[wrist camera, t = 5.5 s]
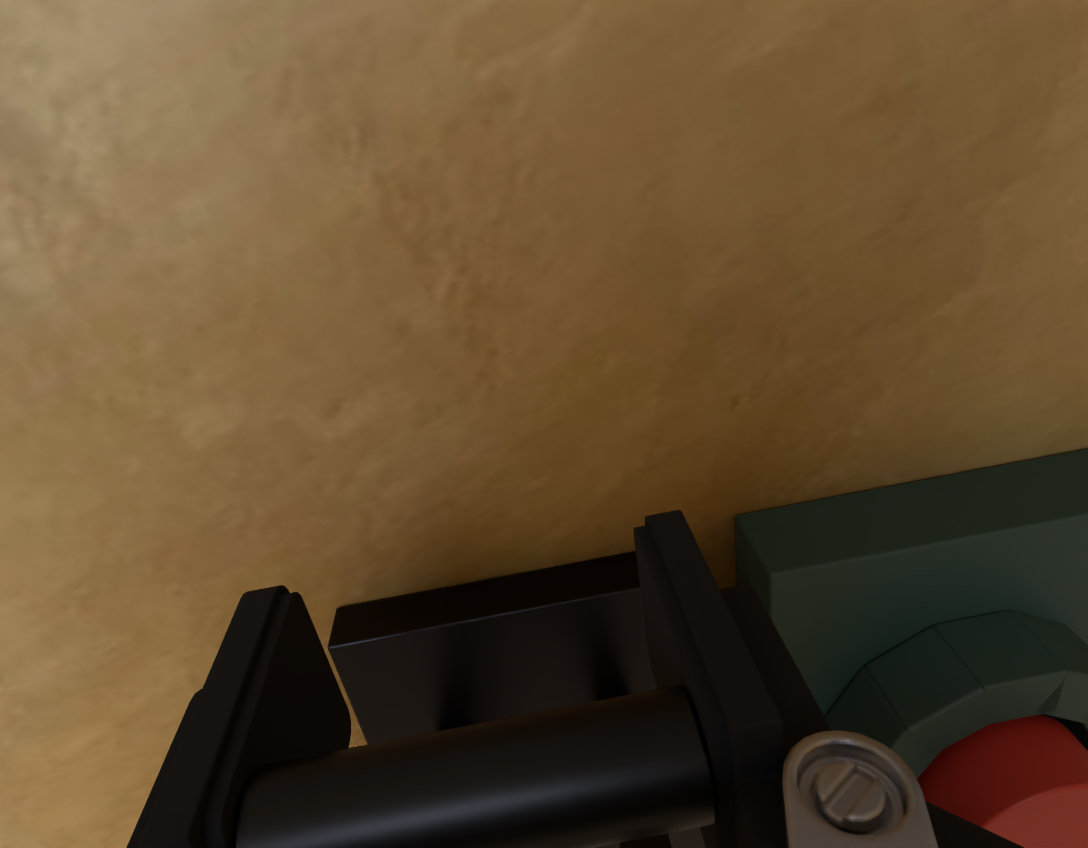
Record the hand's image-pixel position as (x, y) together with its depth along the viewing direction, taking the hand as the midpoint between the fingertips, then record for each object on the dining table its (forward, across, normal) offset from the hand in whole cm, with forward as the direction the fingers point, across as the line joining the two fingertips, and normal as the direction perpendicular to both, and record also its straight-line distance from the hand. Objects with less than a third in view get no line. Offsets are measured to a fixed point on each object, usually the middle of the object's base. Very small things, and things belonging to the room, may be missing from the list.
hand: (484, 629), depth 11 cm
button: (+1, -10, +8) cm, 13 cm away
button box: (+5, -10, +8) cm, 14 cm away
